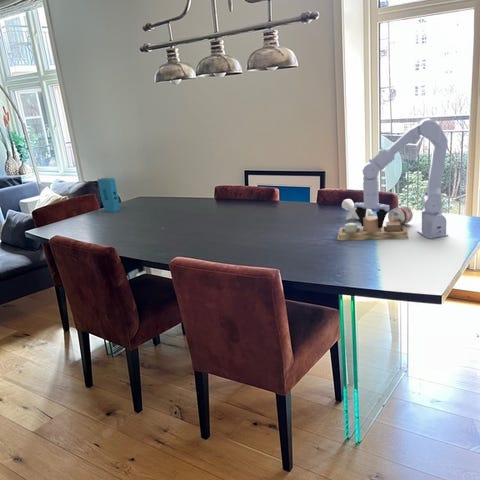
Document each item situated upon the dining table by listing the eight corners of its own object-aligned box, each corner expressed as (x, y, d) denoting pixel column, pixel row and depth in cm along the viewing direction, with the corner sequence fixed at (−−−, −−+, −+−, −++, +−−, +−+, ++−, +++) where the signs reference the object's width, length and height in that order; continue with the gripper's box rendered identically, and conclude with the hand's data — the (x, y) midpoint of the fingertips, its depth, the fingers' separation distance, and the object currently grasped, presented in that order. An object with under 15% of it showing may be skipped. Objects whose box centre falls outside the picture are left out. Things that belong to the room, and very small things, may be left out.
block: (103, 211, 294) (96, 179, 289) (109, 209, 298) (103, 178, 292) (114, 212, 287) (108, 180, 281) (121, 210, 291) (115, 178, 285)
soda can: (398, 225, 202) (390, 227, 192) (393, 209, 202) (385, 210, 193) (415, 220, 198) (408, 223, 188) (410, 204, 198) (403, 205, 188)
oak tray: (406, 230, 191) (406, 225, 190) (408, 238, 182) (408, 232, 181) (338, 232, 198) (338, 227, 197) (337, 240, 189) (337, 234, 188)
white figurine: (371, 223, 216) (346, 209, 225) (377, 207, 211) (351, 193, 220) (361, 228, 211) (335, 213, 219) (366, 212, 206) (340, 197, 215)
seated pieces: (399, 230, 189) (399, 221, 188) (400, 234, 185) (400, 224, 183) (345, 232, 195) (344, 223, 194) (344, 236, 190) (344, 226, 189)
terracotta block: (374, 227, 192) (374, 215, 191) (380, 230, 187) (380, 218, 186) (363, 229, 191) (362, 217, 190) (369, 232, 186) (368, 220, 185)
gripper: (393, 192, 183) (393, 225, 187) (359, 190, 192) (360, 222, 196) (384, 196, 178) (384, 230, 182) (350, 194, 188) (352, 226, 192)
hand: (371, 226), depth 189 cm, fingers closed on terracotta block, 7 cm apart
